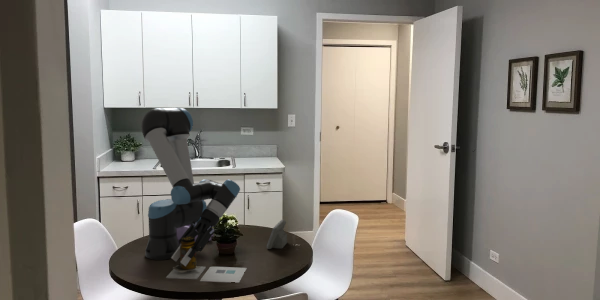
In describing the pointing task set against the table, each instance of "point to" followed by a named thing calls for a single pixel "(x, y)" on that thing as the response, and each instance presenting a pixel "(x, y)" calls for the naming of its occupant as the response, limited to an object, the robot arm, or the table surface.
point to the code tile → (223, 274)
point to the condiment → (184, 248)
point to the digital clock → (278, 236)
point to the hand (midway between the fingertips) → (178, 261)
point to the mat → (186, 274)
